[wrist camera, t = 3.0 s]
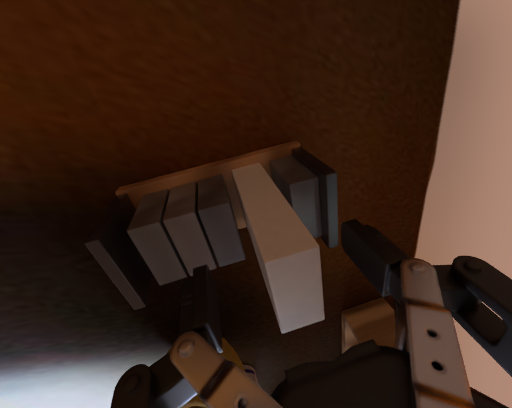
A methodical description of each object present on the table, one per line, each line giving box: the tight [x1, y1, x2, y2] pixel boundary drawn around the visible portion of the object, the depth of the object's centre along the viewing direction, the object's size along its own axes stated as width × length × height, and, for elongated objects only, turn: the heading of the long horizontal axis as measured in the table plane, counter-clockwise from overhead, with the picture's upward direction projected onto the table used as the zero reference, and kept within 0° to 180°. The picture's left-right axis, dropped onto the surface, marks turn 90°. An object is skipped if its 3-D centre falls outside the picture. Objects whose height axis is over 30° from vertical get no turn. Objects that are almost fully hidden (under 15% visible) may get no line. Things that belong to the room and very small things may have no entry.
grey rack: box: [84, 141, 338, 310], centre depth 18 cm, size 15×7×7 cm, turn 102°
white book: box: [232, 163, 325, 334], centre depth 15 cm, size 2×5×11 cm, turn 12°
